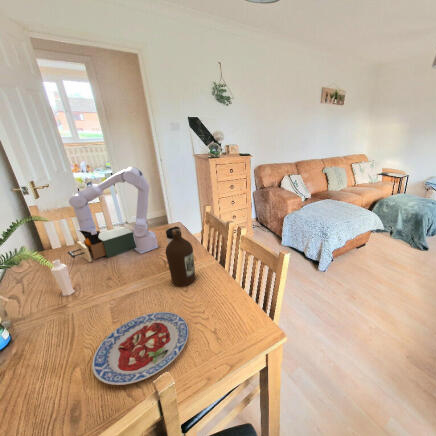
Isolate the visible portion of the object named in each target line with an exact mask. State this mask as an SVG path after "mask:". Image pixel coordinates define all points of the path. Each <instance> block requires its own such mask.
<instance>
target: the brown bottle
mask: <svg viewBox="0 0 436 436" xmlns="http://www.w3.org/2000/svg"><path fill="white" fill-rule="evenodd" d="M180 231H181V228H180V229H174V230H172V236H173V239H172V241H171V242H170V243H169V244H168V243H167V245H166V247H165V257H166V260H167V261H166V262H167V265H168V268H169V273H170V277H171V282H172V285H173V286H175V287H179V288H181V287H186V286H189V285H191V284H192V283H194V282H195V280H196V272H195V271H196V266H195V258H194V248H193V245H192V243H191V242H190V241H189V240H187V239H185V238H184V237H183V235H182V231H181V232H180Z"/></svg>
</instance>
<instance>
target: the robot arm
mask: <svg viewBox="0 0 436 436" xmlns="http://www.w3.org/2000/svg"><path fill="white" fill-rule="evenodd" d="M118 183H128V184H129V185H132V186H134V187H135V188H136V189H137V199H136V200H137V201H136V215H135V216H136V217H135V222H134V226H133V229H132V232H133V235H134V239H135V244H136V248H134V249H133V250H134V251H136V252H138V253H139V254H140V255H141V254H142V255H143V254H144V253H148V252H150V251H153V250H155V249H158V248H159V243H158V239H157V234H155V232H154V231H153V230H150V231H149V229H148V228H149V223H148V206H149V194H150V183H149V182H148V180H147V178H146V177H145V175H144V173H143V172H142V170H140V169H139V168H138V167H136V166H129V167H127V168H126V169H122V170H120V171H118V172H116V173H114V174H113V175H111V176H110V177H108V178H107V179H105V180H104V181H101V182H100V183H98V184H96V183H93V184H88V185H86V188H84V189H82V190H78V191H77V192H76V193H74V194H73V195H72V196H71V197H70V198H69V199H68V204H69V205H70V206H71V207H72V208H73V211H74V215H75V218H76V220H77V224H78V226H79V227H78V228H76V230H77V231H78V232H80V234H82V236H83V237H84V239H85V240H86V239H87V238H88V239H89V241H90V243H91V244H92V245H94V244H97V243H98V236H99V233H101V232H100V231H99V230H97V225H96V223H95V220H94V217H93V214H92V210H91V208H90V204H89V202H92V201H94V200H96V199H97V198H99V197H101V196H102V195H103V194H104V191H105V190H107V189H108V188H110V187H112V186H113V185H115V184H118Z"/></svg>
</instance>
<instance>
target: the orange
mask: <svg viewBox="0 0 436 436" xmlns="http://www.w3.org/2000/svg"><path fill="white" fill-rule="evenodd" d="M85 243H86V245H88V246H91V245H92V244H91V243H90V241H89V239H88V238H87V239H86V238H85ZM85 243H84V244H85ZM98 243H99V239H98Z"/></svg>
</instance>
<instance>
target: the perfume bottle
mask: <svg viewBox="0 0 436 436" xmlns="http://www.w3.org/2000/svg"><path fill="white" fill-rule="evenodd" d="M52 264H53V267H52V268H51V269H50V272H51V274H52V276H53V277H54V280H55V281H56V283H57V285H58V286H59V288H60V291H61V292H62V296H63V297H65V296H70V295H72V294H73V293H75V292H76V291H75V289H74V288H73V284H72V280H71V276H70V272H69V269H68V266H67V265H66V264H64V263H61V260H60V259H56V260H53V261H52ZM54 266H55V267H54Z"/></svg>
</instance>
